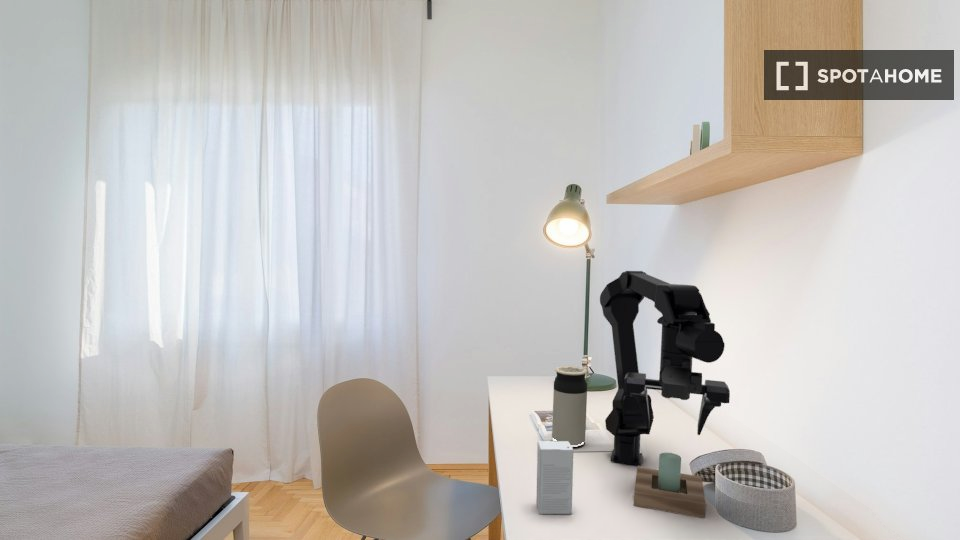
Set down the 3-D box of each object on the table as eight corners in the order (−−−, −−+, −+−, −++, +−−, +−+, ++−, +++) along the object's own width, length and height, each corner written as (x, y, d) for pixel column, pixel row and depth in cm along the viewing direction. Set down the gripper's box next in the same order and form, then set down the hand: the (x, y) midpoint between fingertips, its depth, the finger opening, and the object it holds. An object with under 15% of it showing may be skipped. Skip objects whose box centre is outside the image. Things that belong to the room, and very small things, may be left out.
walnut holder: (636, 478, 114) (637, 466, 114) (701, 488, 110) (701, 476, 110) (633, 505, 102) (634, 492, 102) (705, 518, 98) (705, 504, 98)
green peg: (657, 490, 109) (659, 451, 108) (679, 494, 107) (681, 454, 107) (657, 499, 105) (659, 458, 104) (679, 503, 104) (681, 462, 103)
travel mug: (584, 450, 128) (587, 374, 127) (550, 447, 130) (553, 372, 129) (585, 438, 136) (588, 366, 135) (553, 435, 138) (555, 364, 137)
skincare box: (567, 503, 103) (569, 440, 102) (572, 515, 98) (574, 449, 98) (535, 503, 102) (537, 440, 102) (538, 514, 98) (540, 449, 97)
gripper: (622, 354, 100) (619, 438, 101) (735, 364, 94) (730, 453, 95) (627, 343, 110) (624, 419, 111) (728, 352, 104) (724, 432, 105)
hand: (672, 431), depth 105 cm, fingers open, 9 cm apart
